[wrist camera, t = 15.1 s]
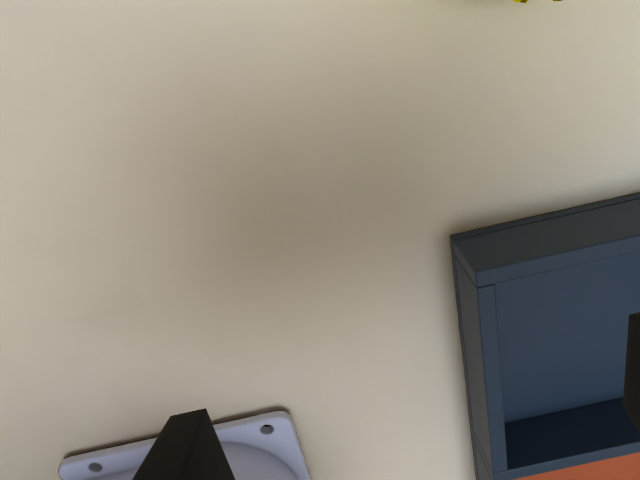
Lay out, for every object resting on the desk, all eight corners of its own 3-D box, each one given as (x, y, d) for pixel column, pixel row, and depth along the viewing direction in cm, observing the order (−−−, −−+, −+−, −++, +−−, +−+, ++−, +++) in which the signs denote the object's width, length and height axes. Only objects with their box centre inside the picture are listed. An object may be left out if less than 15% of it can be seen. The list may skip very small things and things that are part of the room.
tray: (673, 519, 26) (712, 570, 24) (484, 559, 27) (505, 614, 24) (725, 172, 18) (792, 200, 16) (449, 235, 18) (475, 272, 16)
